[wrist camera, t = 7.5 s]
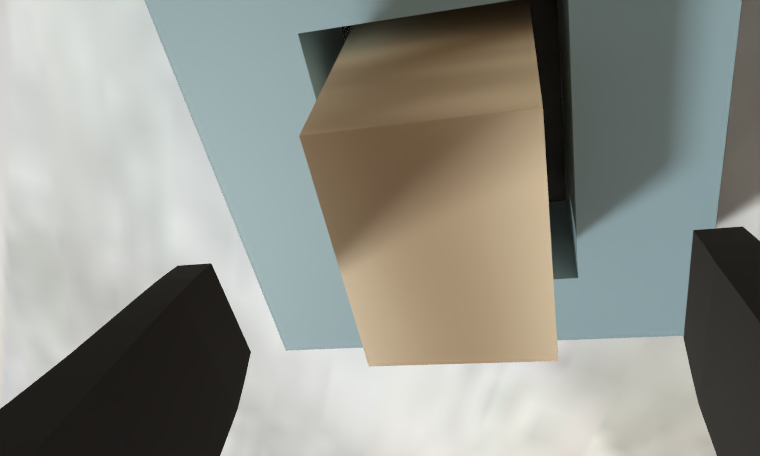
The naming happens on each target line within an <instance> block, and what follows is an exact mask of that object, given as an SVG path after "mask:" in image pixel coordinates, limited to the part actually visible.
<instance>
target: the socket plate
mask: <svg viewBox="0 0 760 456" xmlns="http://www.w3.org/2000/svg"><path fill="white" fill-rule="evenodd" d="M504 1H510V0H145V3H146V5H147V8H148V10H149V13H150V15H151V18H152V20H153V23H154V25H155V28H156V30H157V33H158V35H159V38H160V40H161V43H162V45H163V47H164V50H165V52H166V55H167V57H168V60H169V62H170V65H171V67H172V70H173V72H174V75H175V77H176V80H177V82H178V85H179V87H180V89H181V92H182V94H183V97H184V99H185V102H186V104H187V107H188V109H189V112H190V114H191V117H192V119H193V122H194V124H195V127H196V129H197V132H198V134H199V136H200V139H201V141H202V144H203V146H204V149H205V151H206V154H207V156H208V159H209V161H210V164H211V166H212V169H213V171H214V174H215V176H216V178H217V181H218V183H219V186H220V188H221V191H222V193H223V196H224V198H225V201H226V203H227V206H228V208H229V211H230V213H231V216H232V218H233V221H234V223H235V225H236V228H237V230H238V233H239V235H240V238H241V240H242V243H243V245H244V248H245V250H246V253H247V255H248V258H249V260H250V263H251V265H252V267H253V270H254V272H255V275H256V277H257V280H258V282H259V285H260V287H261V290H262V292H263V295H264V297H265V300H266V302H267V305H268V307H269V309H270V312H271V314H272V317H273V319H274V322H275V324H276V327H277V329H278V332H279V334H280V337H281V339H282V342H283V344H284V347H285V349H286V350H308V349H335V348H362V347H363V345H362V342H361V339H360V335H359V332H358V329H357V325H356V322H355V319H354V315H353V312H352V309H351V306H350V302H349V299H348V296H347V292H346V289H345V286H344V282H343V279H342V276H341V273H340V269H339V266H338V263H337V259H336V256H335V253H334V249H333V246H332V243H331V239H330V236H329V233H328V230H327V226H326V223H325V220H324V216H323V213H322V210H321V206H320V203H319V200H318V197H317V193H316V190H315V187H314V183H313V180H312V177H311V173H310V170H309V167H308V163H307V160H306V157H305V154H304V150H303V147H302V144H301V140H300V137H299V135H300V133H301V131H302V129H303V127H304V125H305V123H306V121H307V119H308V117H309V115H310V112H311V110H312V108H313V106H314V104H315V102H316V100H317V98H318V96H319V94H320V92H321V90H322V88H323V86H324V84H325V82H326V80H327V78H328V76H329V74H330V72H331V70H332V68H333V66H334V64H335V62H336V60H337V58H338V55H339V53H340V51H341V49H342V47H343V45H344V43H345V41H344V36H343V32H342V28H341V27H343V26H350V25H356V24H363V23H369V22H375V21H382V20H388V19H395V18H401V17H408V16H414V15H420V14H427V13H433V12H440V11H446V10H453V9H459V8H465V7H472V6H478V5H485V4H491V3H497V2H504ZM557 4H558V26H559V48H560V71H561V93H562V115H563V137H564V160H565V182H566V200H565V201H553V202H549V216H550V233H551V249H552V266H553V282H554V299H555V315H556V332H557V340H577V339H604V338H631V337H658V336H684V327H685V316H686V305H687V294H688V283H689V272H690V261H691V250H692V239H693V230H702V229H715V228H716V219H717V211H718V202H719V193H720V185H721V176H722V168H723V159H724V150H725V142H726V133H727V124H728V116H729V107H730V99H731V90H732V81H733V73H734V64H735V55H736V47H737V38H738V30H739V21H740V12H741V4H742V0H557Z"/></svg>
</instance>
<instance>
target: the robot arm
mask: <svg viewBox="0 0 760 456" xmlns="http://www.w3.org/2000/svg"><path fill="white" fill-rule="evenodd" d="M684 341H685V346H686V351H687V355H688V360H689V364H690V369H691V374H692V378H693V382H694V386H695V391H696V395H697V399H698V403H699V406H700V409H701V412H702V415H703V418H704V420H705V423H706V426H707V429H708V432H709V434H710V437H711V440H712V443H713V445H714V448H715V451H716V454H717V456H760V241H759V240H758V239H757V238H755V237H754V236H753V235H752V234H751V233H750V232H748V231H747V230H746V229H745V228H744V227H731V228H717V229H702V230H693V239H692V250H691V261H690V272H689V283H688V294H687V305H686V316H685V327H684ZM250 353H251V352H250V349H249V347H248V345H247V343H246V340H245V338H244V336H243V334H242V331H241V329H240V327H239V325H238V322H237V320H236V318H235V316H234V313H233V311H232V309H231V307H230V304H229V302H228V300H227V298H226V296H225V293H224V291H223V289H222V287H221V284H220V282H219V280H218V278H217V275H216V273H215V271H214V269H213V266H212V264H198V265H183V266H177V267H175V268H174V269H173V270H171V271H170V272H168V273H167V274H166V275H164V276H163V277H162V278H160V279H159V280H158V281H157V282H155V283H154V284H153V285H152V286H150V287H149V288H148V289H147V290H146V291H144V292H143V293H142V294H141V295H140V296H138V297H137V298H136V299H135V300H134V301H132V302H131V303H130V304H129V305H128V306H127V307H125V308H124V309H123V310H122V311H121V312H119V313H118V314H117V315H116V316H115V317H114V318H112V319H111V320H110V321H109V322H108V323H106V324H105V325H104V326H103V327H102V328H100V329H99V330H98V331H97V332H96V333H95V334H93V335H92V336H91V337H90V338H89V339H87V340H86V341H85V342H84V343H83V344H81V345H80V346H79V347H78V348H77V349H76V350H74V351H73V352H72V353H71V354H70V355H68V356H67V357H66V358H65V359H63V360H62V361H61V362H60V363H58V364H57V365H56V366H54V367H53V368H52V369H51V370H49V371H48V372H47V373H46V374H44V375H43V376H42V377H41V378H39V379H38V380H37V381H35V382H34V383H33V384H32V385H30V386H29V387H28V388H27V389H25V390H24V391H23V392H22V393H20V394H19V395H18V396H16V397H15V398H14V399H13V400H11V401H10V402H9V403H8V404H6V405H5V406H4V407H2V408H1V409H0V456H220V454H221V452H222V449H223V446H224V444H225V441H226V438H227V436H228V433H229V431H230V428H231V425H232V423H233V420H234V417H235V414H236V412H237V409H238V405H239V401H240V397H241V393H242V389H243V385H244V381H245V376H246V372H247V367H248V362H249V358H250Z"/></svg>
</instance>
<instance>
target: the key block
mask: <svg viewBox="0 0 760 456" xmlns="http://www.w3.org/2000/svg"><path fill="white" fill-rule="evenodd" d="M299 137H300V140H301V144H302V147H303V150H304V154H305V157H306V160H307V163H308V167H309V170H310V173H311V177H312V180H313V183H314V187H315V190H316V193H317V197H318V200H319V203H320V206H321V210H322V213H323V216H324V220H325V223H326V226H327V230H328V233H329V236H330V239H331V243H332V246H333V249H334V253H335V256H336V259H337V263H338V266H339V269H340V273H341V276H342V279H343V282H344V286H345V289H346V292H347V296H348V299H349V302H350V306H351V309H352V312H353V315H354V319H355V322H356V325H357V329H358V332H359V335H360V339H361V342H362V345H363V348H364V352H365V355H366V358H367V362H368V365H369V366H395V365H429V364H464V363H498V362H532V361H558V348H557V332H556V315H555V299H554V282H553V266H552V249H551V233H550V216H549V199H548V183H547V166H546V150H545V133H544V117H543V104H542V96H541V89H540V81H539V73H538V66H537V58H536V50H535V43H534V35H533V27H532V20H531V12H530V4H529V0H510V1H504V2H497V3H491V4H485V5H478V6H472V7H465V8H459V9H453V10H446V11H440V12H433V13H427V14H420V15H414V16H408V17H401V18H395V19H388V20H382V21H375V22H369V23H363V24H356V25H353V27H352V29H351V31H350V33H349V35H348V37H347V39H346V41H345V43H344V45H343V47H342V49H341V51H340V53H339V55H338V58H337V60H336V62H335V64H334V66H333V68H332V70H331V72H330V74H329V76H328V78H327V80H326V82H325V84H324V86H323V88H322V90H321V92H320V94H319V96H318V98H317V100H316V102H315V104H314V106H313V108H312V110H311V112H310V115H309V117H308V119H307V121H306V123H305V125H304V127H303V129H302V131H301V133H300V135H299Z"/></svg>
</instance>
